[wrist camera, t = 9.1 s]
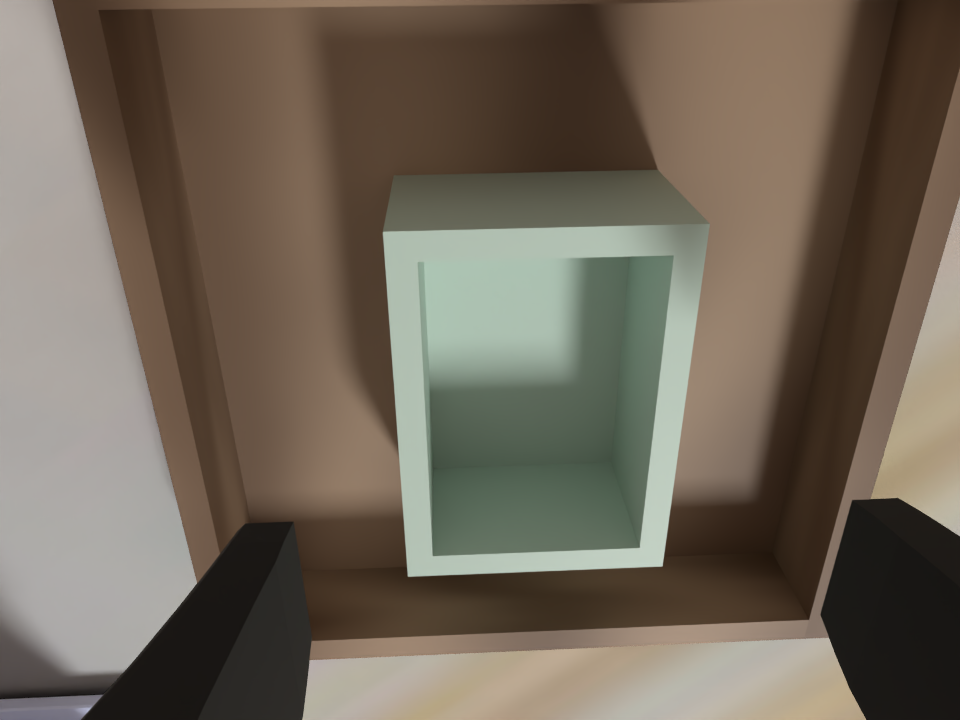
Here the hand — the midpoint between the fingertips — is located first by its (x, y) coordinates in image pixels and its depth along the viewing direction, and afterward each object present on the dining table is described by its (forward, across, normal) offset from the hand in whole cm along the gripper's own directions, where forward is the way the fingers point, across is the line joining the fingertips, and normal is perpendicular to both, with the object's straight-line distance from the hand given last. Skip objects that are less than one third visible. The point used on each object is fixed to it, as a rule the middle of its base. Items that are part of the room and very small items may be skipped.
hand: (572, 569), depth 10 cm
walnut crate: (+8, 0, 0) cm, 8 cm away
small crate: (+7, 0, 0) cm, 7 cm away
